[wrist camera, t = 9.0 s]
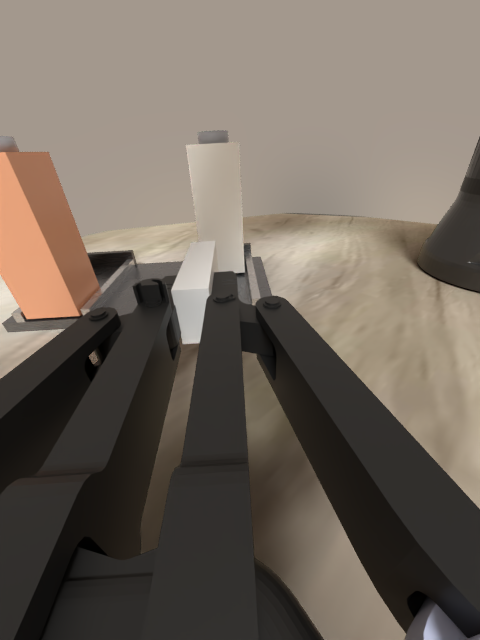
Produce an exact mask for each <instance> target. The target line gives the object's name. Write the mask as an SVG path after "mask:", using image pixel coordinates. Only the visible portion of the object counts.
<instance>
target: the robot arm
mask: <svg viewBox="0 0 480 640" xmlns="http://www.w3.org/2000/svg"><path fill="white" fill-rule="evenodd" d="M418 265H419V266H420V267H421V268H422V269H423V270H424V271H425V272H427V273H429V274H430V275H432V276H434V277H436V278H438V279H441V280H443V281H445V282H448V283H451V284H454V285H457V286H460V287H463V288H467V289H471V290H475V291H479V292H480V137H479V140H478V143H477V146H476V148H475V151H474V154H473V156H472V159H471V162H470V165H469V167H468V170H467V173H466V175H465V178H464V181H463V183H462V186H461V189H460V192H459V194H458V196H457V198H456V200H455V202H454V203H453V204H452V206H451V207H450V209H449V210H448V211H447V213H446V214H445V216H444V217H443V218H442V220H441V221H440V223H439V224H438V225H437V227H436V228H435V230H434V231H433V233H432V235H431V236H430V237H429V238H428V239H427V240H426V241H425V242H424V244H423V246H422V249H421V252H420V255H419V257H418ZM132 287H133V290H134V294H135V297H136V300H137V303H138V305H137V306H136V308H135V310H134V311H133V313H130V314H125V315H121V316H119V315H118V313H117V310H116V309H114V308H111V307H100V308H96V309H94V310H92V311H90V312H88V313H86V314H85V315H83V316H82V317H81V318H79V319H78V320H77V321H76V322H74V323H73V324H72V325H70V326H69V327H68V328H66V329H65V330H64V331H63V332H61V333H60V334H59V335H57V336H56V337H55V338H53V339H52V340H51V341H49V342H48V343H47V344H46V345H44V346H43V347H42V348H40V349H39V350H38V351H36V352H35V353H34V354H33V355H31V356H30V357H29V358H27V359H26V360H25V361H23V362H22V363H21V364H20V365H18V366H17V367H16V368H14V369H13V370H12V371H10V372H9V373H8V374H6V375H5V376H4V377H3V378H1V379H0V640H324V639H323V638H322V636H321V635H320V633H319V632H318V630H317V629H316V627H315V626H314V624H313V623H312V621H311V620H310V618H309V617H308V615H307V614H306V612H305V611H304V609H303V608H302V606H301V605H300V603H299V602H298V600H297V599H296V598H295V596H294V595H293V593H292V592H291V591H290V589H289V588H288V587H287V586H286V585H285V584H284V582H283V581H282V580H281V579H280V578H279V577H278V576H277V575H276V574H275V573H274V572H273V571H272V570H271V569H269V568H268V567H267V566H266V565H264V564H263V563H261V562H260V561H258V560H257V559H255V558H254V549H253V533H252V516H251V500H250V483H249V466H248V449H247V433H246V416H245V399H244V383H243V366H242V351H245V352H251V353H256V354H257V359H258V361H259V363H260V365H261V367H262V369H263V371H264V373H265V375H266V377H267V379H268V381H269V383H270V385H271V387H272V389H273V391H274V392H275V394H276V396H277V398H278V400H279V402H280V404H281V406H282V408H283V410H284V412H285V414H286V416H287V418H288V420H289V422H290V424H291V426H292V428H293V430H294V432H295V434H296V436H297V438H298V440H299V442H300V444H301V446H302V448H303V449H304V451H305V453H306V455H307V457H308V459H309V461H310V463H311V465H312V467H313V469H314V471H315V473H316V475H317V477H318V479H319V481H320V483H321V485H322V487H323V489H324V491H325V493H326V495H327V497H328V499H329V501H330V503H331V504H332V506H333V508H334V510H335V512H336V514H337V516H338V518H339V520H340V522H341V524H342V526H343V528H344V530H345V532H346V534H347V536H348V538H349V540H350V542H351V544H352V546H353V548H354V550H355V552H356V554H357V556H358V558H359V559H360V561H361V563H362V565H363V567H364V568H365V570H366V572H367V574H368V576H369V577H370V579H371V581H372V583H373V585H374V586H375V588H376V590H377V591H378V593H379V594H380V596H381V598H382V599H383V601H384V602H385V604H386V605H387V607H388V608H389V610H390V611H391V613H392V614H393V616H394V617H395V619H396V620H397V622H398V623H399V625H400V626H401V627H402V629H403V630H404V631H405V633H406V637H405V640H480V509H479V508H478V507H477V506H476V505H475V504H474V503H473V501H472V500H471V499H470V498H469V497H468V496H467V495H466V494H465V493H464V492H463V491H462V489H461V488H460V487H459V486H458V485H457V484H456V483H455V482H454V481H453V480H452V479H451V478H450V476H449V475H448V474H447V473H446V472H445V471H444V470H443V469H442V468H441V467H440V466H439V465H438V463H437V462H436V461H435V460H434V459H433V458H432V457H431V456H430V455H429V454H428V453H427V451H426V450H425V449H424V448H423V447H422V446H421V445H420V444H419V443H418V442H417V441H416V440H415V438H414V437H413V436H412V435H411V434H410V433H409V432H408V431H407V430H406V429H405V428H404V427H403V425H402V424H401V423H400V422H399V421H398V420H397V419H396V418H395V417H394V416H393V415H392V413H391V412H390V411H389V410H388V409H387V408H386V407H385V406H384V405H383V404H382V403H381V402H380V400H379V399H378V398H377V397H376V396H375V395H374V394H373V393H372V392H371V391H370V390H369V389H368V387H367V386H366V385H365V384H364V383H363V382H362V381H361V380H360V379H359V378H358V377H357V375H356V374H355V373H354V372H353V371H352V370H351V369H350V368H349V367H348V366H347V365H346V364H345V362H344V361H343V360H342V359H341V358H340V357H339V356H338V355H337V354H336V353H335V352H334V351H333V349H332V348H331V347H330V346H329V345H328V344H327V343H326V342H325V341H324V340H323V339H322V337H321V336H320V335H319V334H318V333H317V332H316V331H315V330H314V329H313V328H312V327H311V326H310V324H309V323H308V322H307V321H306V320H305V319H304V318H303V317H302V316H301V315H300V314H299V313H298V311H297V310H296V309H295V308H294V307H293V306H292V305H291V304H290V303H289V302H288V301H287V300H286V299H284V298H281V297H278V296H267V297H263V298H260V299H259V300H257V302H256V304H255V305H249V304H246V303H243V302H242V301H240V300H239V298H238V285H237V274H235V273H234V272H233V271H226V272H219V270H218V260H217V251H216V241H202V242H191V243H190V246H189V248H188V251H187V253H186V256H185V258H184V260H183V263H182V265H181V268H180V270H179V272H178V275H173V276H165V277H164V278H163V279H159V278H151V279H145V280H142V281H139V282H137V283H135V284H134V285H133V286H132ZM180 336H181V339H182V343H183V344H194V343H200V345H199V352H198V358H197V365H196V371H195V377H194V384H193V390H192V397H191V403H190V410H189V416H188V422H187V429H186V435H185V442H184V448H183V455H182V460H181V463H180V466H178V467H176V468H175V469H174V471H173V473H172V476H171V480H170V484H169V489H168V494H167V500H166V505H165V511H164V516H163V522H162V528H161V533H160V539H159V544H158V548H156V549H153V550H151V551H148V552H146V553H143V554H140V550H141V535H140V525H141V518H142V514H143V509H144V505H145V501H146V497H147V492H148V488H149V484H150V480H151V475H152V471H153V467H154V463H155V458H156V454H157V450H158V446H159V442H160V437H161V433H162V429H163V425H164V420H165V416H166V412H167V408H168V403H169V399H170V395H171V391H172V386H173V382H174V378H175V374H176V369H177V365H178V361H179V357H180V352H181V348H180V343H179V339H180ZM93 351H95V354H96V356H97V358H98V361H97V362H96V363H95V364H94V365H93V364H92V362H91V360H90V358H89V355H90V354H91V353H92V352H93Z"/></svg>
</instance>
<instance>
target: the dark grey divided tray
mask: <svg viewBox="0 0 480 640" xmlns="http://www.w3.org/2000/svg"><path fill="white" fill-rule="evenodd" d="M87 255H88V257H89V260H90V262H91V265H92V268H93V270H94V273H95V276H96V278H97V281H98V284H99V286H100V289H99V290H98V291H97V292H96V293H95V294H94V295H93V296H92V297H91V299H90V300H89V301H88V302H87V303H86V304H85V305H84V306H83V307H82V308H81V309H80V310H81V312H82V314H81V315H80V316H71V317H55V318H38V319H26V317H25V315H24V313H23V312H22V310H21V308H20V307H19V308H18V309H17V310H15V311H14V312H13V313H11V314H12V316H11V317H10V318H9V319H7V320H6V321H5V322H3V323H2V324H3V326H4V327H5V329H6V330H7V332H16V331H32V330H49V329H65V328H68V327H69V326H70V325H72V324H73V323H74V322H76V321H77V320H78V319H79V318H81V317H82V316H83V315H85V314H86V313H88V312H90V311H92V310H94V309H96V308H100V307H111V308H114V309H116V310H117V313H118V315H119V316H121V315H125V314H130V313H133V311H134V310H135V308H136V306H137V305H138V303H137V300H136V297H135V294H134V290H133V287H132V286H133V285H134V284H135V283H137V282H139V281H142V280H145V279H151V278H159V279H163V278H164V277H165V276H173V275H178V272H179V270H180V268H181V265H182V263H183V261H182V262H166V263H149V264H136V260H135V257H134V253H133V250H128V251H112V252H95V253H87ZM244 267H245V272H244V273H235V274H237V285H238V298H239V300H240V301H242V302H243V303H246V304H249V305H255V304H256V302H257V300H259V299H260V298H263V297H267V296H272V294H271V290H270V287H269V284H268V280H267V277H266V274H265V270H264V267H263V264H262V260H261V257H252V256H251V248H250V243H245V244H244Z"/></svg>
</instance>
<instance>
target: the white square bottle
mask: <svg viewBox="0 0 480 640" xmlns="http://www.w3.org/2000/svg"><path fill="white" fill-rule="evenodd" d="M198 141H199V144H194V145H186V151H187V158H188V166H189V173H190V180H191V187H192V195H193V203H194V209H195V217H196V225H197V232H198V239H199V242H202V241H216V251H217V260H218V270H219V272H226V271H233V272H234V273H244V272H245V267H244V243H243V219H242V195H241V172H240V150H239V142H228V131H204V132H198Z"/></svg>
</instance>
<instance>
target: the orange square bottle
mask: <svg viewBox="0 0 480 640" xmlns="http://www.w3.org/2000/svg"><path fill="white" fill-rule="evenodd" d="M0 275H1V276H2V278H3V280H4V281H5V283H6V285H7V286H8V288H9V290H10V292H11V293H12V295H13V297H14V298H15V300H16V302H17V303H18V305H19V307H20V308H21V310H22V312H23V313H24V315H25V317H26V319H38V318H55V317H71V316H80V315H81V314H82V312H81V310H80V309H81V308H82V307H83V306H84V305H85V304H86V303H87V302H88V301H89V300H90V299H91V297H92V296H93V295H94V294H95V293H96V292H97V291H98V290H99V289H100V286H99V284H98V281H97V278H96V276H95V273H94V270H93V268H92V265H91V262H90V260H89V257H88V255H87V252H86V249H85V247H84V244H83V241H82V239H81V236H80V234H79V231H78V228H77V226H76V223H75V220H74V218H73V215H72V212H71V210H70V208H69V205H68V202H67V199H66V197H65V194H64V192H63V189H62V186H61V183H60V181H59V178H58V176H57V173H56V170H55V168H54V165H53V163H52V160H51V157H50V155H49V152H19V150H18V148H17V145H16V143H15V141H14V138H13V137H8V136H0Z"/></svg>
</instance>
